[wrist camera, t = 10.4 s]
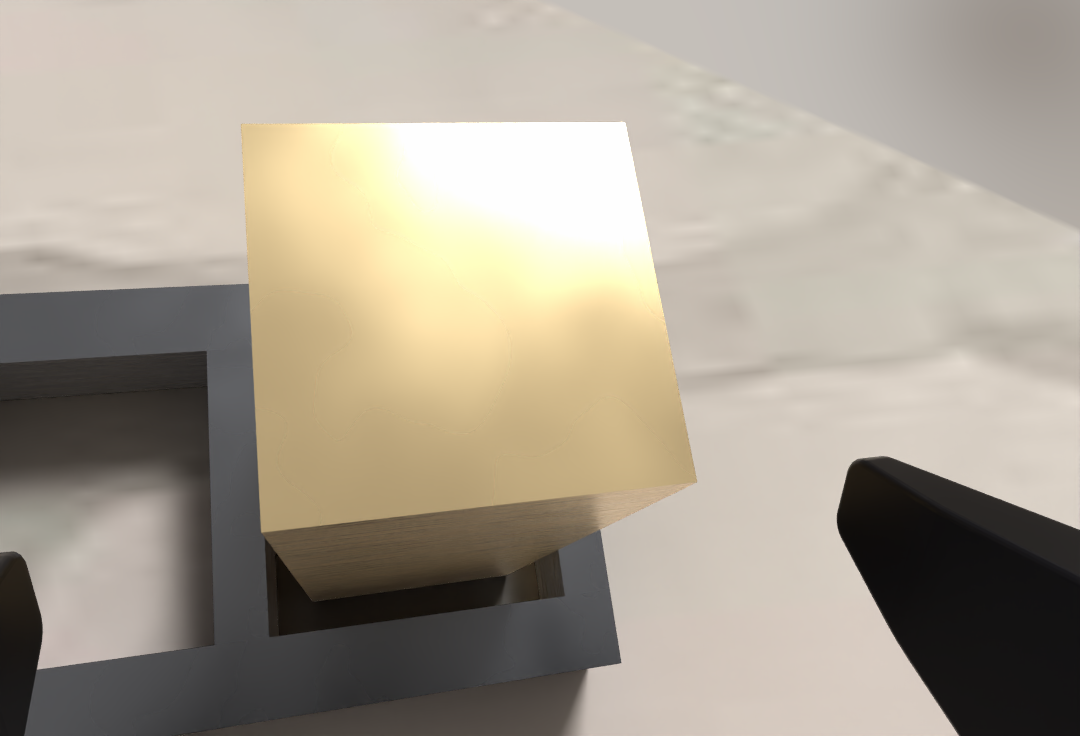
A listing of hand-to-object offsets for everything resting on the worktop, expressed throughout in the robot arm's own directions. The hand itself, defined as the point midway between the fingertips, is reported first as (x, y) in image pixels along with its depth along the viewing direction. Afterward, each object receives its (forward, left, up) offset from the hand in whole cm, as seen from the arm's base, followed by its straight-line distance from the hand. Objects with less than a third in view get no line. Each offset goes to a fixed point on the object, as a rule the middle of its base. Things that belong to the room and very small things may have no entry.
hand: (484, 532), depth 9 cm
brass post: (+2, 0, -11) cm, 12 cm away
